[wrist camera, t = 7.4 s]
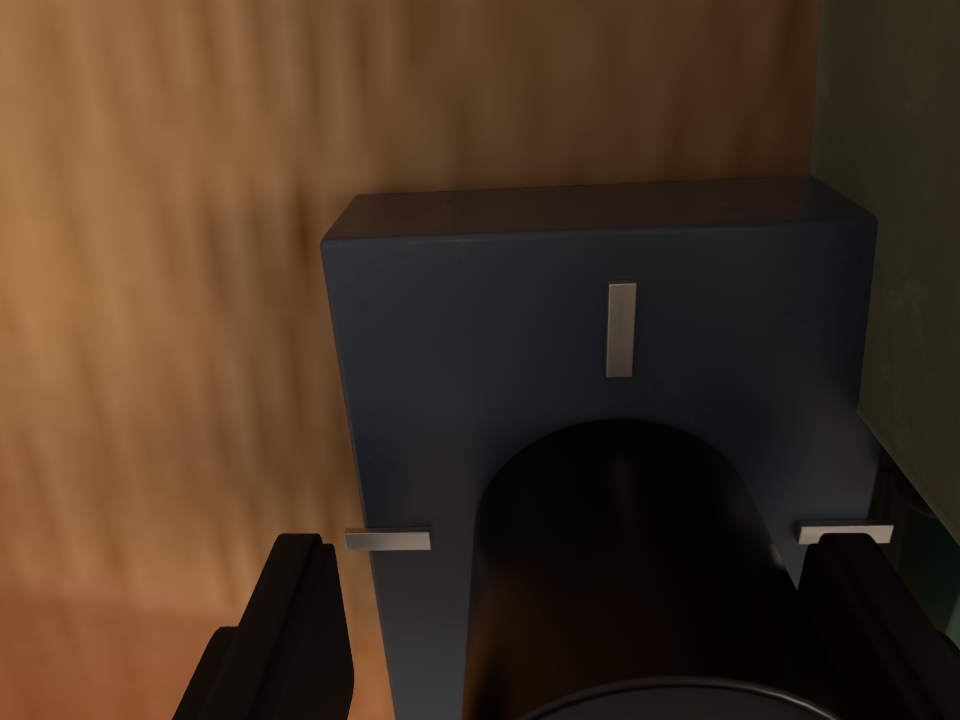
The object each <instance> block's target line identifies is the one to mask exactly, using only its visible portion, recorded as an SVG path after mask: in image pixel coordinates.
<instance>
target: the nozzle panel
mask: <svg viewBox="0 0 960 720" xmlns="http://www.w3.org/2000/svg"><path fill="white" fill-rule="evenodd" d="M877 230H878V220H877V218H876V216H875V215H873V214H872V213H870V212H868V211H867V210H865V209H864V208H862V207H861V206H859V205H858V204H856V203H855V202H853V201H851V200H850V199H848V198H847V197H845V196H844V195H842V194H841V193H839V192H838V191H836V190H834V189H833V188H831V187H830V186H828V185H827V184H825V183H824V182H822V181H821V180H819V179H818V178H816V177H814V176H791V177H767V178H744V179H721V180H698V181H674V182H651V183H628V184H605V185H581V186H558V187H535V188H512V189H488V190H465V191H442V192H419V193H395V194H372V195H358V196H356V197H354V199H353V200H352V201H351V202H350V204H349V205H348V206H347V208H346V209H345V210H344V211H343V213H342V214H341V215H340V217H339V218H338V219H337V220H336V222H335V223H334V224H333V226H332V227H331V228H330V229H329V231H328V232H327V233H326V234H325V236H324V237H323V238H322V240H321V242H320V250H321V256H322V262H323V268H324V275H325V281H326V287H327V293H328V300H329V306H330V312H331V318H332V325H333V331H334V337H335V343H336V350H337V356H338V362H339V368H340V375H341V381H342V387H343V393H344V400H345V406H346V412H347V419H348V425H349V431H350V437H351V444H352V450H353V456H354V462H355V469H356V475H357V481H358V487H359V494H360V500H361V506H362V512H363V519H364V525H365V528H345V531H344V534H343V535H344V541H345V546H346V551H369V556H370V562H371V569H372V575H373V581H374V587H375V594H376V600H377V606H378V613H379V619H380V625H381V631H382V638H383V644H384V650H385V656H386V663H387V669H388V675H389V681H390V688H391V694H392V700H393V706H394V713H395V719H396V720H461V717H462V702H463V687H464V672H465V657H466V642H467V627H468V612H469V597H470V582H471V567H472V552H473V537H474V523H475V518H476V513H477V509H478V506H479V504H480V501H481V499H482V496H483V494H484V492H485V490H486V489H487V487H488V485H489V484H490V482H491V480H492V479H493V478H494V477H495V475H496V474H497V473H498V472H499V470H500V469H501V468H502V467H503V466H504V465H505V464H506V463H507V462H508V461H509V460H510V459H511V458H512V457H513V456H514V455H516V454H517V453H518V452H520V451H521V450H523V449H524V448H525V447H527V446H528V445H530V444H531V443H533V442H535V441H537V440H539V439H540V438H542V437H544V436H546V435H548V434H551V433H553V432H556V431H558V430H560V429H563V428H566V427H570V426H573V425H577V424H580V423H586V422H592V421H597V420H609V419H633V420H644V421H650V422H656V423H661V424H664V425H667V426H671V427H674V428H677V429H680V430H682V431H684V432H687V433H689V434H691V435H694V436H696V437H697V438H699V439H701V440H702V441H704V442H706V443H707V444H709V445H711V446H712V447H713V448H715V449H716V450H717V451H718V452H720V453H721V454H722V455H723V456H724V457H725V458H726V459H727V460H728V461H729V462H730V463H731V464H732V465H733V466H734V467H735V469H736V470H737V472H738V473H739V475H740V476H741V478H742V479H743V481H744V483H745V485H746V487H747V489H748V491H749V493H750V495H751V497H752V499H753V501H754V503H755V505H756V507H757V509H758V511H759V513H760V515H761V518H762V520H763V522H764V524H765V526H766V528H767V530H768V532H769V534H770V536H771V538H772V540H773V542H774V544H775V546H776V548H777V550H778V552H779V554H780V557H781V559H782V561H783V563H784V565H785V567H786V569H787V571H788V573H789V575H790V577H791V579H792V581H793V583H794V585H795V587H796V589H797V590H798V586H799V581H800V577H801V572H802V568H803V563H804V559H805V554H806V550H807V547H808V546H809V544H812V543H818V542H819V539H820V537H821V536H822V534H824V533H867V534H869V535H870V536H871V537H872V538H873V539H874V540H875V541H876V543H889V542H890V538H891V535H892V531H893V527H894V525H893V524H892V522H891V521H890V520H889V519H871V520H867V517H868V513H869V509H870V505H871V500H872V496H873V492H874V488H875V484H876V480H877V476H878V472H879V468H880V464H881V460H882V456H883V452H884V447H883V445H882V444H881V443H880V442H879V440H878V439H877V438H876V436H875V435H874V434H873V432H872V431H871V430H870V428H869V427H868V426H867V425H866V423H865V422H864V421H863V419H862V418H861V417H860V415H859V414H858V413H857V412H856V411H857V407H858V402H859V395H860V386H861V376H862V367H863V358H864V349H865V340H866V331H867V321H868V312H869V303H870V294H871V285H872V276H873V266H874V257H875V248H876V239H877Z"/></svg>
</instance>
